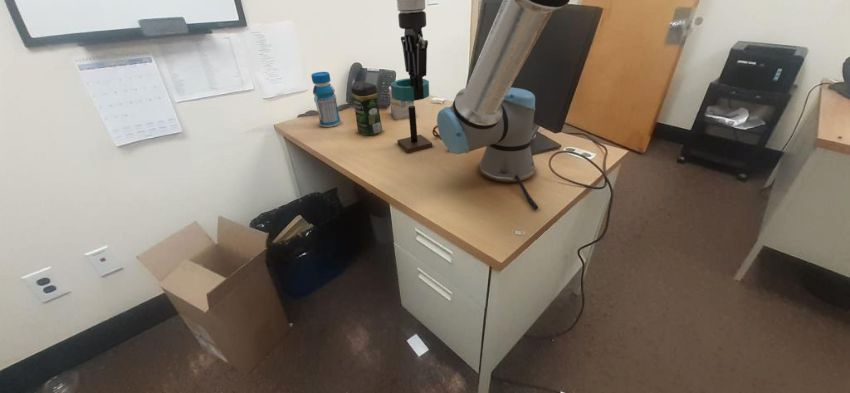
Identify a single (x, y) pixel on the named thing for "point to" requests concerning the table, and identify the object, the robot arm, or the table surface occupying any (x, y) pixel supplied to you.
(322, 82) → the beverage bottle
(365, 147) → the table surface
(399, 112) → the ink box
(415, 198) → the table surface
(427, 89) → the ring
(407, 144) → the peg stand
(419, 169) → the table surface
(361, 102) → the coffee jar
